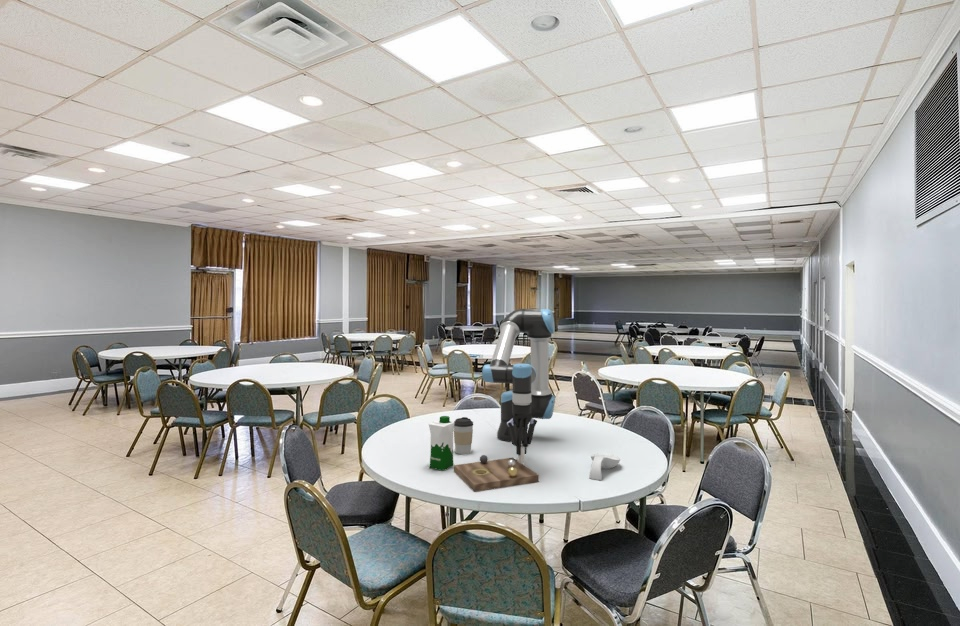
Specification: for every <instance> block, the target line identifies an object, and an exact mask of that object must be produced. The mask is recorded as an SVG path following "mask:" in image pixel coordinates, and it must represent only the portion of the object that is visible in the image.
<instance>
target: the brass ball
mask: <svg viewBox="0 0 960 626" xmlns="http://www.w3.org/2000/svg"><path fill="white" fill-rule="evenodd" d="M508 475H509V476H510V477H515V476H516V475H517V469H516V468H515V467H510V468H509V469H508Z"/></svg>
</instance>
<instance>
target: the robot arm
mask: <svg viewBox="0 0 960 626" xmlns="http://www.w3.org/2000/svg"><path fill="white" fill-rule="evenodd" d="M554 318H555V317H554V314H553V311H552V310H551V309H548V308H547V309H546V308H518V309H514V310H513V311H511V312H509V313H508V314H507V315H505V317H504V318H503V319H502V321H501V322H500V326H499V332H500V333H499V336H498V339H497V341H496V342H497V343H496V345H495V348H494V351H493V355H492V358H491V361H490V364H489V363H488V364H484V365H483V366H482V372H481V374H482V377H481V378H482V380H483V381H484V382H485V383H492V384H497V383H498V384H511V385H512V390H508V391H504V392H502V393H501V395H500V423H499V427H498V429H497V432H496V433H497V434H496V438H497V439H498V440H501V441H504V442H511V445H513V446H514V447H516V448H515V450H516V453H515V454H516V455H517V461H518V462H519V463H521V464H523V465H525V463H526V462H525V460H526V458H525V456H526V455H527V453H528V452H527V451H528V449H527V448H528V447H529V445H531V444H532V441H533V436H534V431H535V428H536V425H537V423H538V419H539V420H540V419H541V420H551V418H552V417H553V415H554V414H553V413H554V410H555V403H556V396H555V395H554V394H553V392H552V390H551V389H550V383H549V382H550V380H549V379H550V378H549V375H550V373H549V369H550V368H549V341H550V339H551V338H552V335H553V334H555V330H556V329H555V319H554ZM522 333H523V334H527V338H528V339H529V340H530V364H529V363H514V364H512V365H509V363H510V360H511V356H512V354H513V353H512V352H513V349H514V345H515V341H516V338H517V337H518V336H519V335H520V334H522Z"/></svg>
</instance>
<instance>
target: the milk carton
mask: <svg viewBox="0 0 960 626" xmlns="http://www.w3.org/2000/svg"><path fill="white" fill-rule="evenodd" d="M454 424H455V423H454V421H451V420H450V416H449V415H441V416H439V420H436V421H432V422H431V423H428V427H429V431H430V433H429V434H430V458H429V468H430V469H435V470H439V471H446V470H448V469H449V468H452V467H454Z"/></svg>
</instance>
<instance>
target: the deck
mask: <svg viewBox="0 0 960 626" xmlns="http://www.w3.org/2000/svg"><path fill="white" fill-rule="evenodd" d="M511 459H512V460H514V461H515V463H516V465H515V468H516V469H517V475H516V476H515V477H510V476H509V475H508V469H509V468H510V467H508V464H507V463H508V461H509V460H511ZM453 473H455V474H456V475H457V476H458V477H459V478H460V479H461V480H462V481H463V482H464V483H465V484H466V485H467V486H468V487H469V488H470V489H471V490H472V491H473V492H481V491H487V490H493V489H494V488H495V489H501V488H505V487H514V486H520V485H526V484H527V485H528V484H532V483H533V484H534V483H538V482H540V481H539V479H540V476H539V474H538V473H536V472H535V471H533V470H532V469H530V467H527V466H526V465H525V464H521V463H519V462H518V459H515V458H514V457H506V458H499V459H493V460H492V459H491V460H488V461H487V462H486V463H481V461H477V462H475V461H474V462H467V463H460V464H453Z"/></svg>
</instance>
